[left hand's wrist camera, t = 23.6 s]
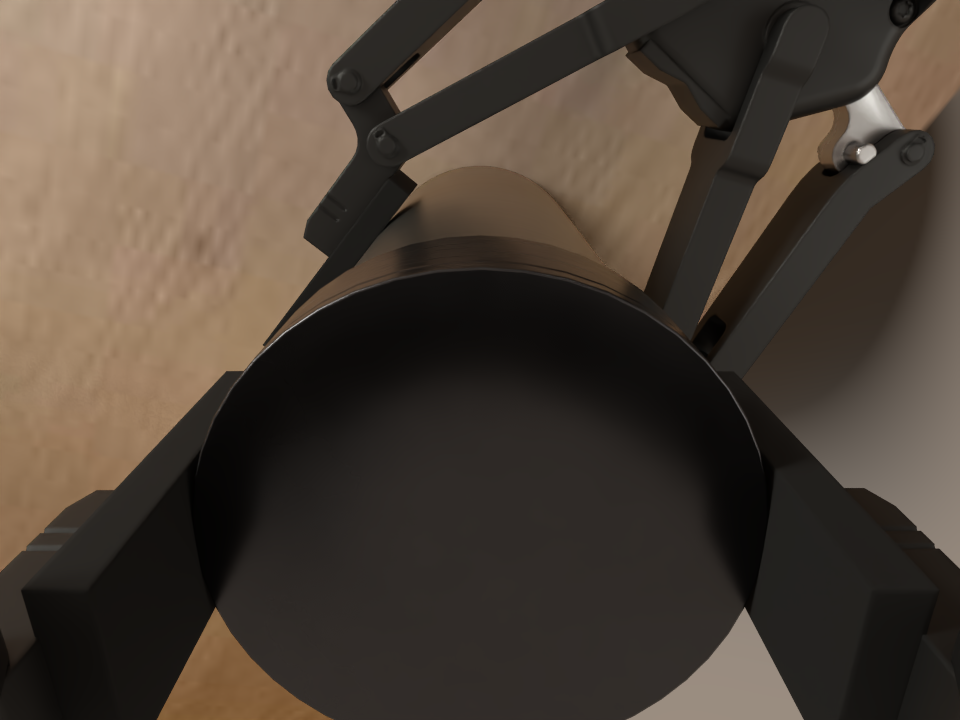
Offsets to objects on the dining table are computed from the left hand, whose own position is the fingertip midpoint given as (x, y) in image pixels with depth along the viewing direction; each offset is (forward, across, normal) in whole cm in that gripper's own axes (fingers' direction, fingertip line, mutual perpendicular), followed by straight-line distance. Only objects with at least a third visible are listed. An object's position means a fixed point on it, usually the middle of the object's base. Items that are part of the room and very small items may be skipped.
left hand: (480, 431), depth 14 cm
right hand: (+8, -3, -4) cm, 10 cm away
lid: (-4, 0, 0) cm, 4 cm away
